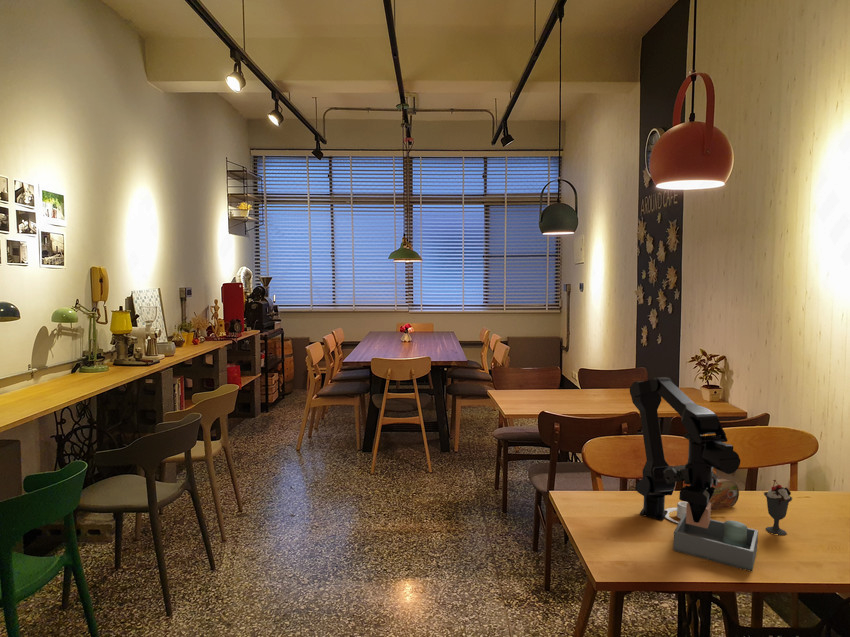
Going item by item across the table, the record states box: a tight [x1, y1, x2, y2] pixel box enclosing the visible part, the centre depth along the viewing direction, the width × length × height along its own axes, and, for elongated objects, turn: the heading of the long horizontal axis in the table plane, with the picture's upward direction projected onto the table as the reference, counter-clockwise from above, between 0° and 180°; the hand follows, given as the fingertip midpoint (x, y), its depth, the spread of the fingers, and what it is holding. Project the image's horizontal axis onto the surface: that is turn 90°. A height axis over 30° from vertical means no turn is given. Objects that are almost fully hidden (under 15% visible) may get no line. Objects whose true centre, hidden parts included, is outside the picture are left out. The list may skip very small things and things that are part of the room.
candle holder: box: [664, 500, 688, 524], centre depth 158 cm, size 12×12×4 cm
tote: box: [672, 513, 759, 572], centre depth 139 cm, size 13×17×5 cm
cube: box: [686, 502, 712, 528], centre depth 141 cm, size 5×5×5 cm
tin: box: [709, 478, 740, 511], centre depth 165 cm, size 15×3×8 cm, turn 105°
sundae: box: [763, 479, 793, 536], centre depth 149 cm, size 7×7×15 cm
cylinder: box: [723, 520, 748, 548], centre depth 137 cm, size 5×5×7 cm
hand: (698, 518), depth 141 cm, fingers closed on cube, 5 cm apart
